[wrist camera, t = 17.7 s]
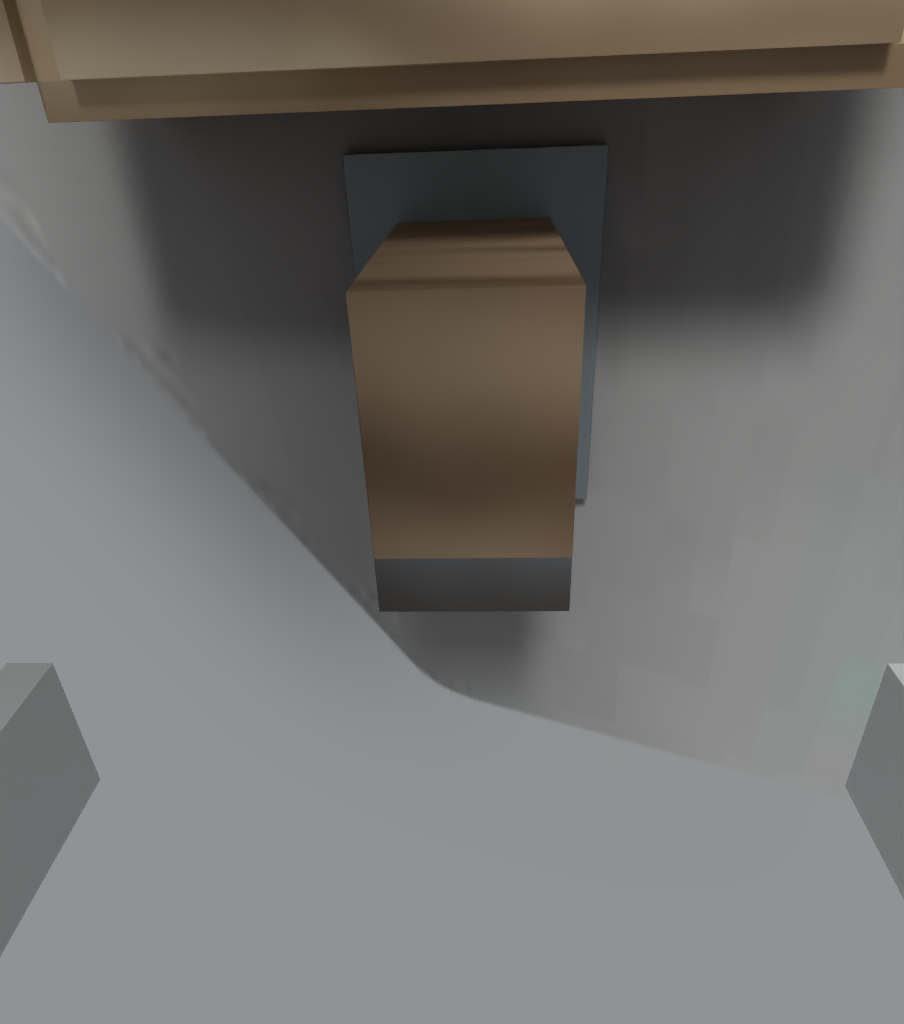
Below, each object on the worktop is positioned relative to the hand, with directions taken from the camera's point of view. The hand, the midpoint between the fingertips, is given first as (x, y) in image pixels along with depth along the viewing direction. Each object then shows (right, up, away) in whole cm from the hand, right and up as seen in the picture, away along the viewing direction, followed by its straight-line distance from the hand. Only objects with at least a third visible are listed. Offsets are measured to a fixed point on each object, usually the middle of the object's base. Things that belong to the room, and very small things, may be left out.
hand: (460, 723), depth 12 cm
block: (+1, +11, +19) cm, 22 cm away
